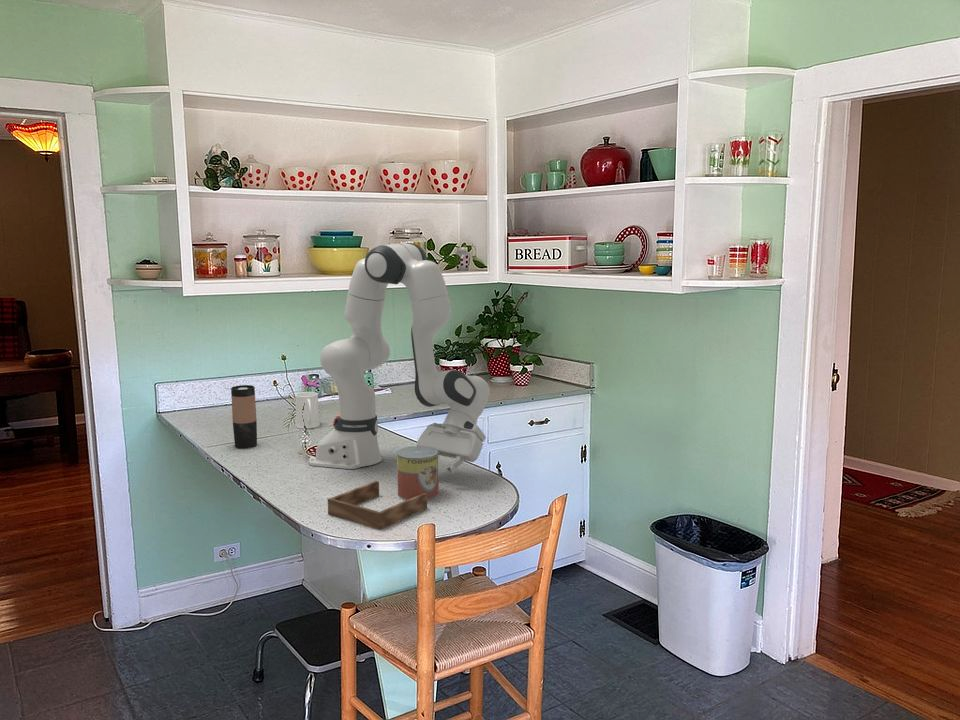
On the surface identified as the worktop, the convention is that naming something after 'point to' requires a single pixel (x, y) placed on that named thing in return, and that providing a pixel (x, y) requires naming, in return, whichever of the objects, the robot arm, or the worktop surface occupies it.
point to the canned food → (417, 472)
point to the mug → (307, 410)
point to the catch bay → (349, 510)
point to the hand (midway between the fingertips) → (437, 468)
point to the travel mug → (244, 416)
